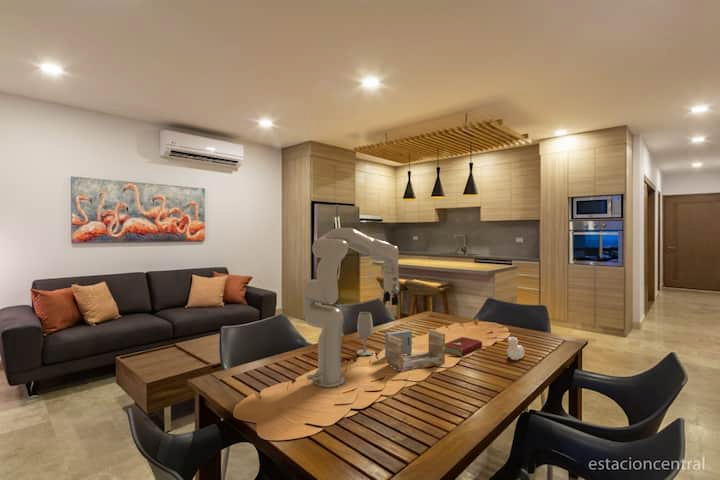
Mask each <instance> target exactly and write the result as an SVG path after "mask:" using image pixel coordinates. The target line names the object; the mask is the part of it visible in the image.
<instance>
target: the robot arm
mask: <svg viewBox="0 0 720 480" xmlns="http://www.w3.org/2000/svg"><path fill="white" fill-rule="evenodd" d="M349 249H352V250H354V251H356V252H357V253H360V254H363V255H366V256H367V255H368V256H370V258H371V259H372V260H373V261H377V262H383V263H382V264H383V268H382V269H383V274H384V275H383V301H384V302H385V303H386V302H391V306H398V305H399V294H400V293H399V292H400V277H399V255H400V254H399V247H398V245H393V244H391V243H389V242H386V241H383V240H381V239H378V238H374V237H371V236H368V235H367V234H365V233H362V232H361V231H359V230H357V229H355V228H352V227H336V228H333V229H331V230H329V231H328V232H326V233H324V234H323V235H321V236H320V237H318V238H317V239H315V241H313V243H312V247H311V250H312V254H313V255H314V256H315V257H316V258H319V259H320V261H319V262H318V264H317V267H316V279H314V278H313V279H309V280H307V282H306V283H305V285H304V287H303V290H302V302H303V315H304V320H305V322H306V324H307V325H309V326H311V327H314V328H319V329H321V332H320V334H319V336H318V340H317V370H315V372H314V373H313V374H307V375H306V379H307V381H310V380H311V381H312V382H314V384H315V385H316V386H318V387H320V388H321V387H322V388H335V387H336V386H337V387H339V385H340V386H342V385H343V384H344V383H345V377H344V376H343V375H342V348H341V347H342V343H341V342H342V328H343V323H344V314H343V312H342V311H341V309H340V308H338V307H334V306H330V305H333V304H334V303H336V302H337V301H338V298H339V285H338V282H339V281H338V268H339V266H340V264H341V262H342V261H343V259H344V258H345V257H346V256H347V253H348V251H349ZM391 296H392V297H391ZM324 304H325V305H324ZM341 384H342V385H341Z"/></svg>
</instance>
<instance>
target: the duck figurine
mask: <svg viewBox="0 0 720 480" xmlns="http://www.w3.org/2000/svg"><path fill="white" fill-rule="evenodd" d="M507 342H508V344H510V345H509V346H508V347H507V349H506V354H507V355H506V356H508V357H509V358H510V359H511V360H515V361H518V360H522V359H523V357H524V355H525V352H526V351H525V348H524V346H522V345H521V344H518V343H519V339H518V337H515V336H509V337H508V338H507Z"/></svg>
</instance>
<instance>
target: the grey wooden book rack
mask: <svg viewBox="0 0 720 480" xmlns="http://www.w3.org/2000/svg"><path fill="white" fill-rule="evenodd" d="M445 343H446V334H445V333H444V332H441V331H439V330H435V329H434V328H429V329H428V351H425V352H419V353H415V354H410V355H405V356H403V340H401V339H399V338H397V337H395V336H392V335H388V357H386V359H387V364H389V365H390V366H392V367H393V368H395V369H396V370H395V369H394V370H395V371H397V370H398V371H401V372H406V371H411V370H415V369H414V368H416V369H420V367H421V368H425V366H426V367H430V365H431V366H435V365H440V364H441V365H442V364H445V363H446V357H445V356H446V352H445ZM389 365H388V366H389ZM390 366H389V367H390ZM392 367H391V368H392ZM393 368H392V369H393ZM410 369H411V370H410ZM405 370H406V371H405ZM398 371H397V372H398Z"/></svg>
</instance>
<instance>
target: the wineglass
mask: <svg viewBox="0 0 720 480" xmlns="http://www.w3.org/2000/svg"><path fill="white" fill-rule="evenodd" d="M356 329H357V335H359V337H360V338H361V339H362V340H363V349H358V350H357V351H356V354H357V355H358V356H361V357H367V356H366V355H370V356H372V355H373V354H374V351H373V350H371V349H367V339H369V338H370V337H371V336H372V334H373V330H374V322H373V316H372V313H371V312H370V311H360V312H359V314H358V316H357V324H356ZM372 353H373V354H372ZM371 354H372V355H371Z"/></svg>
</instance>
